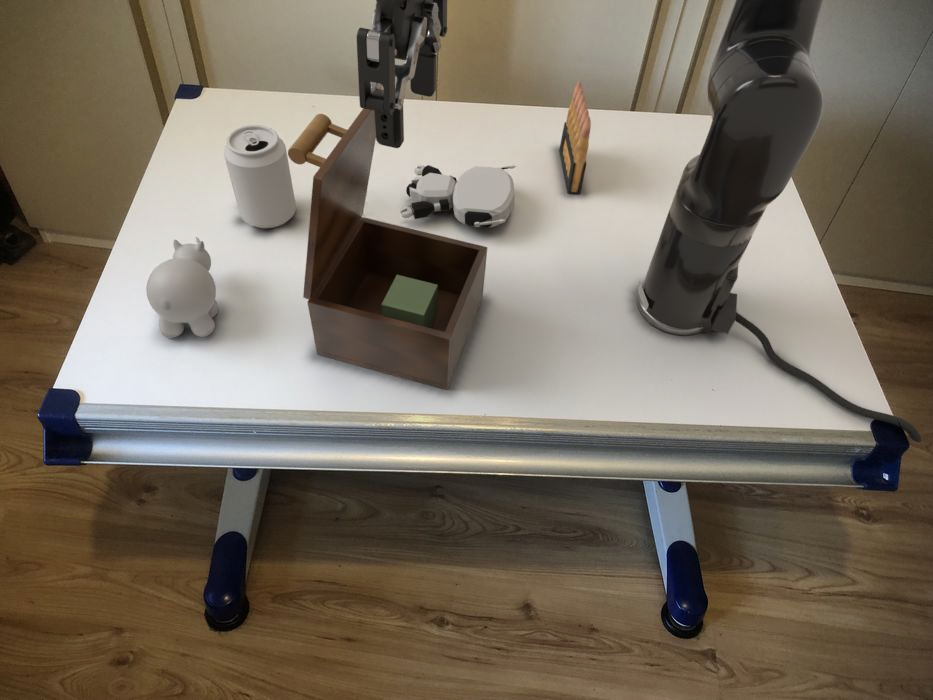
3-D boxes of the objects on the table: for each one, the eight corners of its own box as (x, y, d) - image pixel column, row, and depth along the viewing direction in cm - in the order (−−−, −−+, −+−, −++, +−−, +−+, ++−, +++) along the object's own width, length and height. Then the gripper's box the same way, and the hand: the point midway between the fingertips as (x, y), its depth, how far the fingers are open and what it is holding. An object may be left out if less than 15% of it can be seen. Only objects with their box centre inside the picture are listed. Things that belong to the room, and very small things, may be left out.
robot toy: (398, 234, 93) (508, 244, 91) (395, 208, 90) (509, 217, 88) (416, 179, 101) (518, 187, 99) (414, 153, 97) (519, 161, 96)
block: (437, 313, 82) (437, 284, 78) (423, 344, 79) (423, 315, 75) (397, 303, 83) (396, 274, 79) (383, 333, 80) (381, 304, 76)
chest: (482, 299, 85) (487, 246, 78) (446, 390, 76) (449, 339, 69) (364, 270, 87) (360, 216, 81) (316, 354, 78) (307, 302, 72)
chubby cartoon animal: (239, 271, 86) (224, 218, 80) (216, 345, 79) (197, 293, 72) (181, 268, 86) (161, 215, 79) (152, 342, 78) (127, 290, 72)
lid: (383, 93, 67) (335, 74, 67) (321, 180, 58) (266, 157, 58) (363, 214, 80) (322, 198, 80) (310, 300, 71) (264, 282, 71)
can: (255, 239, 90) (236, 162, 81) (231, 208, 94) (210, 131, 84) (306, 219, 93) (294, 143, 84) (281, 190, 97) (266, 113, 87)
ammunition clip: (580, 194, 100) (596, 120, 90) (567, 194, 99) (582, 120, 90) (570, 150, 106) (585, 77, 97) (558, 150, 106) (572, 77, 97)
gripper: (422, -44, 42) (421, 173, 55) (483, -116, 51) (471, 85, 64) (310, -64, 44) (334, 154, 56) (389, -132, 52) (395, 70, 65)
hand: (407, 117), depth 60 cm, fingers open, 8 cm apart
